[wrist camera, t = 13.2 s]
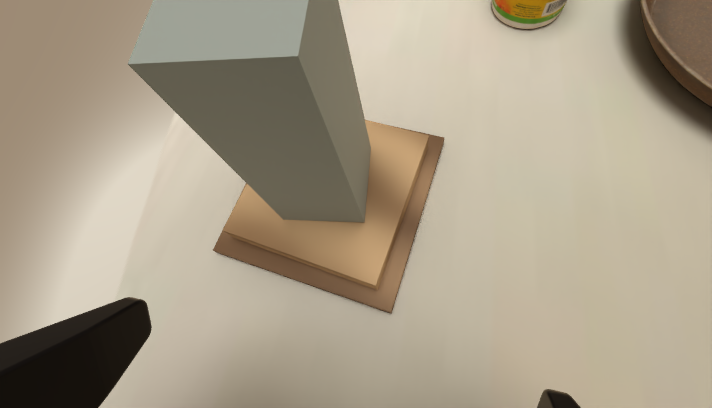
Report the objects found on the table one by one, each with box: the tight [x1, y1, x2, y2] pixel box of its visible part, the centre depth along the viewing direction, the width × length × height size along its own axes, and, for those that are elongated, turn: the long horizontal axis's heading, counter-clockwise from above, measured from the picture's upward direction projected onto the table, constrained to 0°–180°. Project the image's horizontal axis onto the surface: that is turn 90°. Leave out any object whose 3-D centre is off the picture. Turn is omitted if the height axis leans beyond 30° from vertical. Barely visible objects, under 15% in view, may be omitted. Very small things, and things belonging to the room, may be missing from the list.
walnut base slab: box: [213, 125, 444, 313], centre depth 25 cm, size 12×12×2 cm
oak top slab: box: [223, 120, 429, 290], centre depth 23 cm, size 10×10×2 cm
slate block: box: [128, 0, 371, 222], centre depth 17 cm, size 5×5×13 cm
